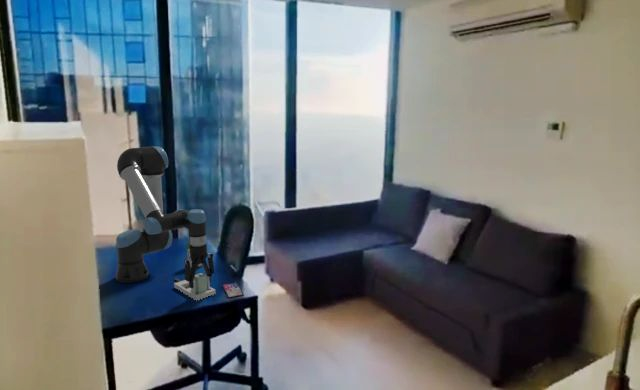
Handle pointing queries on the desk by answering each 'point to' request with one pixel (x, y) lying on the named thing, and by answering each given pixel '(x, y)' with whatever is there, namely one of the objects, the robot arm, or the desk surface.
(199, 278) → the block
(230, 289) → the smartphone
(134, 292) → the desk surface
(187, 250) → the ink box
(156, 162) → the robot arm
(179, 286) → the white compartment tray
